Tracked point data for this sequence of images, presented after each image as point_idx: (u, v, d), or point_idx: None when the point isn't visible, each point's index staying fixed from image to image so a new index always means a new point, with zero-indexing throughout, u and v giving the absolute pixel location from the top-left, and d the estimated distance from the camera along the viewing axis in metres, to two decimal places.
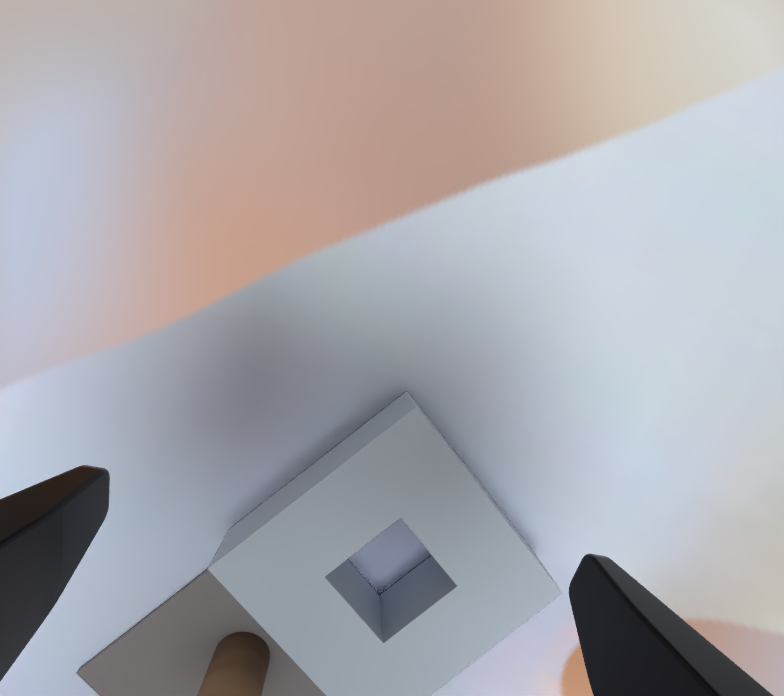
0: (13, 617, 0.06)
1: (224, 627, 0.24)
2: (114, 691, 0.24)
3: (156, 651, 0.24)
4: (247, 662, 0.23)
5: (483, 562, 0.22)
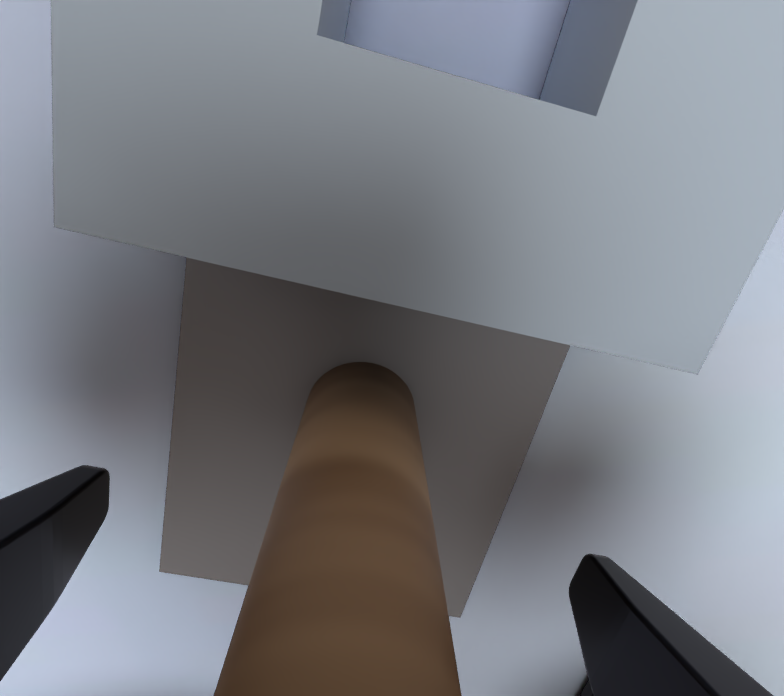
0: (13, 617, 0.06)
1: (293, 384, 0.12)
2: (229, 565, 0.14)
3: (229, 481, 0.13)
4: (347, 394, 0.10)
5: None
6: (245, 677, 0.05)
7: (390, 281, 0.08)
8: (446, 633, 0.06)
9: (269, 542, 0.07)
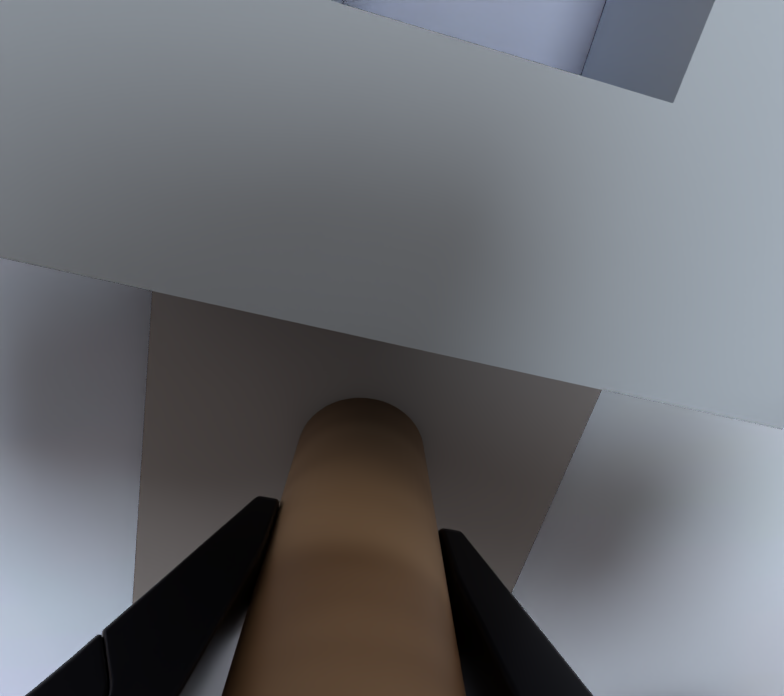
0: (233, 647, 0.06)
1: (282, 423, 0.10)
2: None
3: (209, 532, 0.11)
4: (345, 444, 0.09)
5: None
6: None
7: (398, 316, 0.06)
8: None
9: (236, 679, 0.05)
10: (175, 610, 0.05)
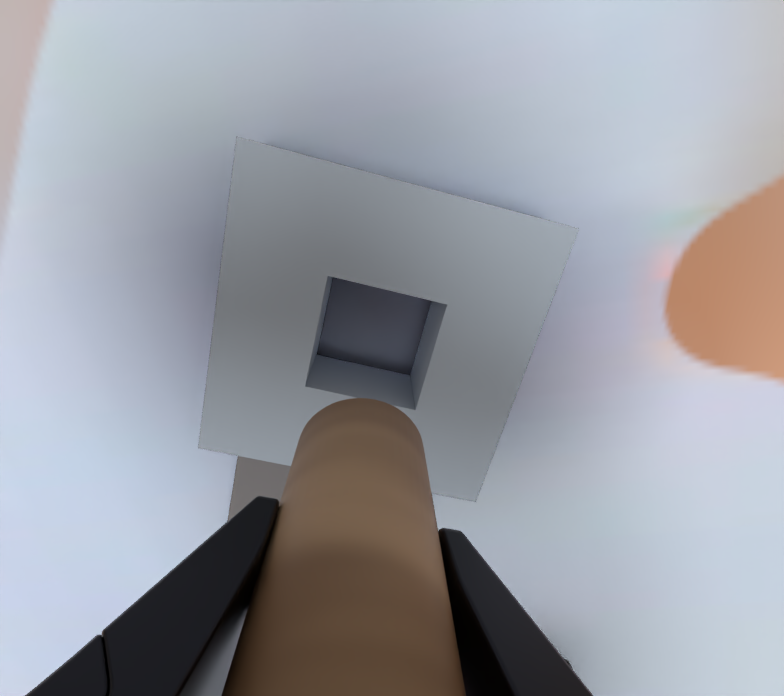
0: (233, 647, 0.06)
1: None
2: None
3: None
4: (344, 444, 0.08)
5: (456, 259, 0.16)
6: None
7: None
8: None
9: (236, 681, 0.05)
10: (175, 610, 0.05)
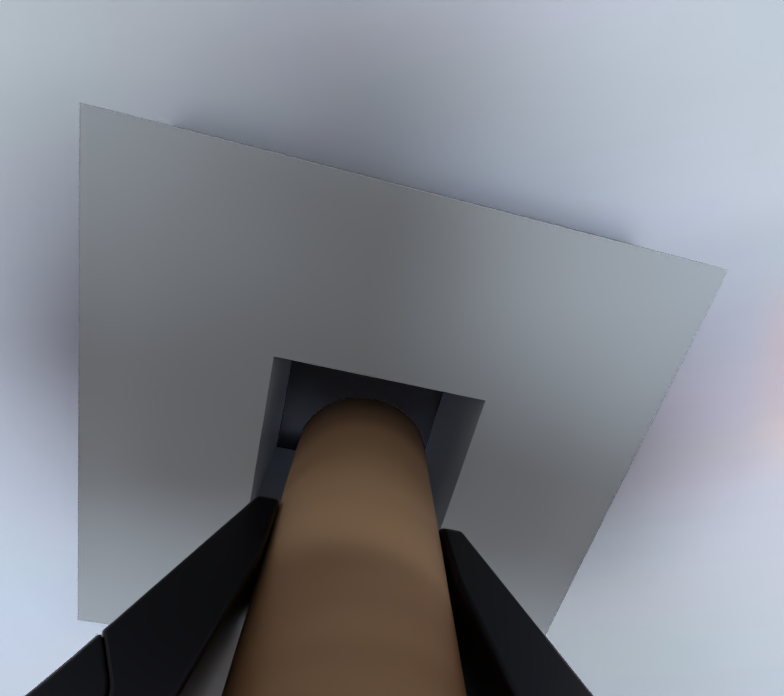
0: (233, 647, 0.06)
1: None
2: None
3: None
4: (345, 444, 0.08)
5: (504, 325, 0.09)
6: None
7: None
8: None
9: (236, 680, 0.05)
10: (175, 610, 0.05)
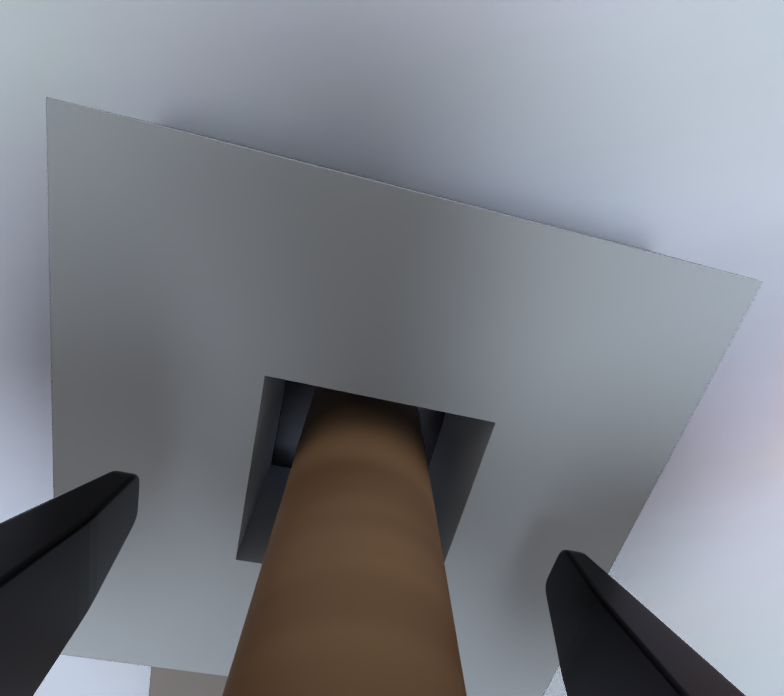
0: (52, 622, 0.06)
1: None
2: None
3: None
4: (351, 396, 0.10)
5: (517, 341, 0.08)
6: (255, 675, 0.05)
7: None
8: (451, 632, 0.06)
9: (276, 542, 0.07)
10: None
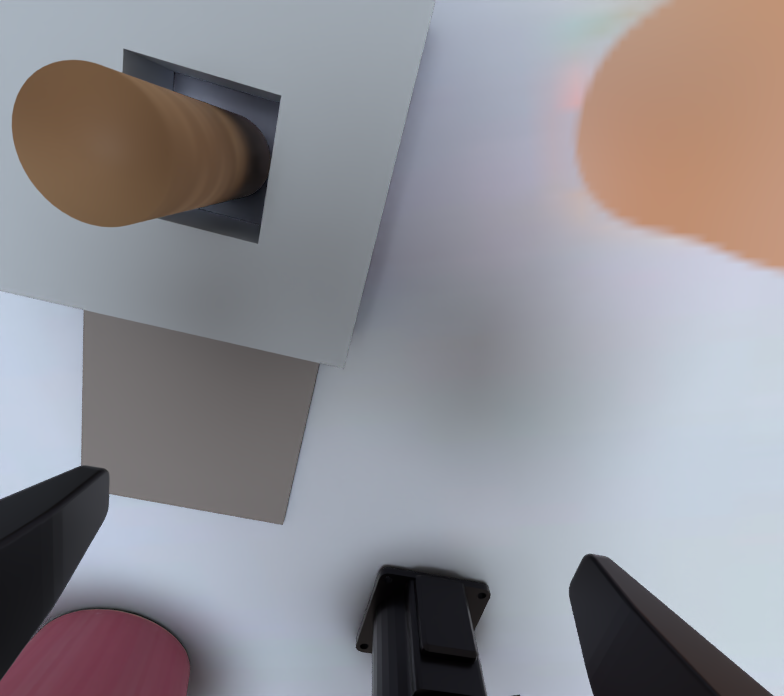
0: (13, 617, 0.06)
1: (155, 370, 0.20)
2: (125, 485, 0.22)
3: (121, 430, 0.21)
4: None
5: (286, 28, 0.13)
6: None
7: (170, 318, 0.16)
8: (196, 123, 0.10)
9: None
10: None
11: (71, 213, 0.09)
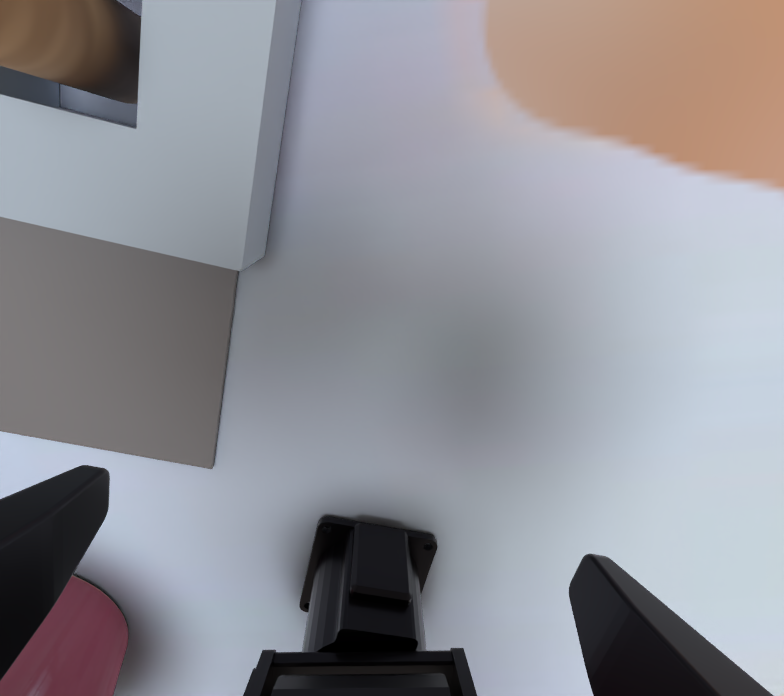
0: (13, 617, 0.06)
1: (64, 295, 0.19)
2: (43, 426, 0.21)
3: (34, 364, 0.20)
4: None
5: None
6: None
7: (52, 216, 0.15)
8: None
9: None
10: None
11: None
